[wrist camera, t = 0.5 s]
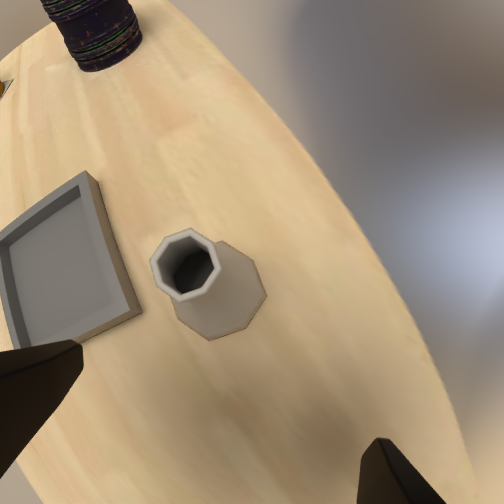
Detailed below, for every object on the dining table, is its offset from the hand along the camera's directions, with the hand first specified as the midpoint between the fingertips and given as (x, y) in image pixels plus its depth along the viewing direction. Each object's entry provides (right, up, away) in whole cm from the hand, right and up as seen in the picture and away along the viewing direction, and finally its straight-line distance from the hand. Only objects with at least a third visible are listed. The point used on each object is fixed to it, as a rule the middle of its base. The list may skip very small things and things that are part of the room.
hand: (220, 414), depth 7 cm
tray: (-16, +2, +16) cm, 23 cm away
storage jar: (-18, +32, +23) cm, 44 cm away
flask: (-2, +1, +16) cm, 16 cm away
